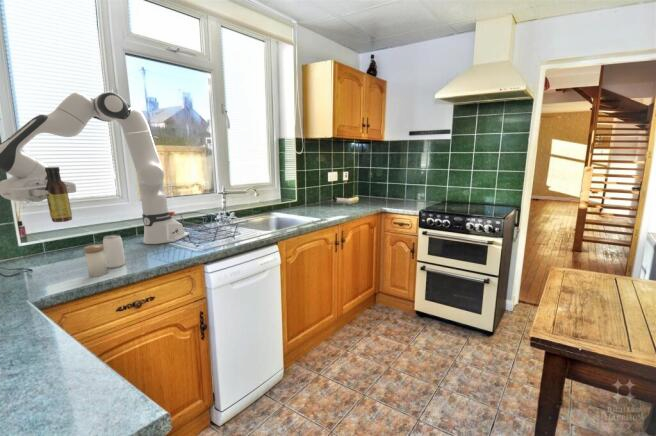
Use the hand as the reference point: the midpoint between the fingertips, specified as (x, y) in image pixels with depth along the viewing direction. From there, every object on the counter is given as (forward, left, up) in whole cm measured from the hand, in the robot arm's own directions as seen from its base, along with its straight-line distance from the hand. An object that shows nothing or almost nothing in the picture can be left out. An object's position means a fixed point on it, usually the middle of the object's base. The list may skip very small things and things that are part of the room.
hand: (57, 191), depth 124 cm
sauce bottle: (0, -1, -11) cm, 11 cm away
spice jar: (-1, +12, -31) cm, 33 cm away
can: (-10, +10, -31) cm, 34 cm away
